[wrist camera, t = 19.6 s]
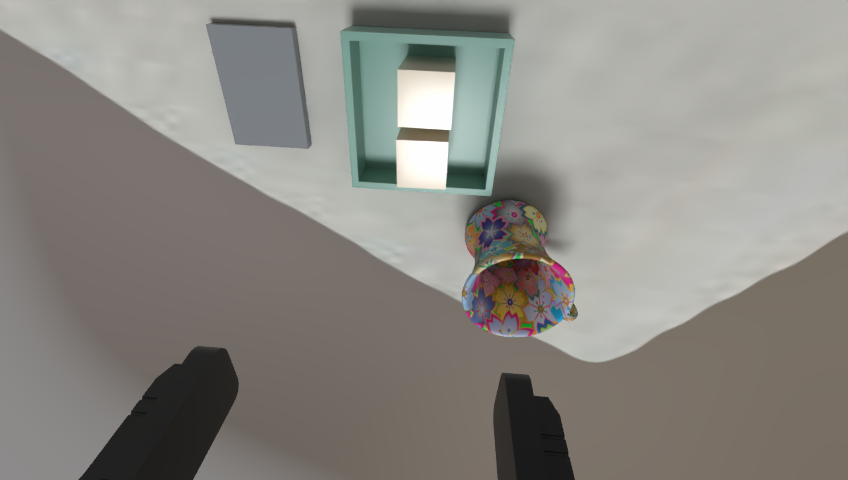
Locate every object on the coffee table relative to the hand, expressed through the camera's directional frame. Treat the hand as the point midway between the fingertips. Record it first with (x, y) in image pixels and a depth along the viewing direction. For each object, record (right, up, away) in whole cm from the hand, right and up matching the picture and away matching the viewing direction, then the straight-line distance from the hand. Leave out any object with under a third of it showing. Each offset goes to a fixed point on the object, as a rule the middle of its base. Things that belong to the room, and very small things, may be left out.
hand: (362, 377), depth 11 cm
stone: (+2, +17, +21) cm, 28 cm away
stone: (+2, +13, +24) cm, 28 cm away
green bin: (+2, +16, +23) cm, 28 cm away
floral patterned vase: (+12, +4, +30) cm, 33 cm away
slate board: (-12, +18, +23) cm, 32 cm away
